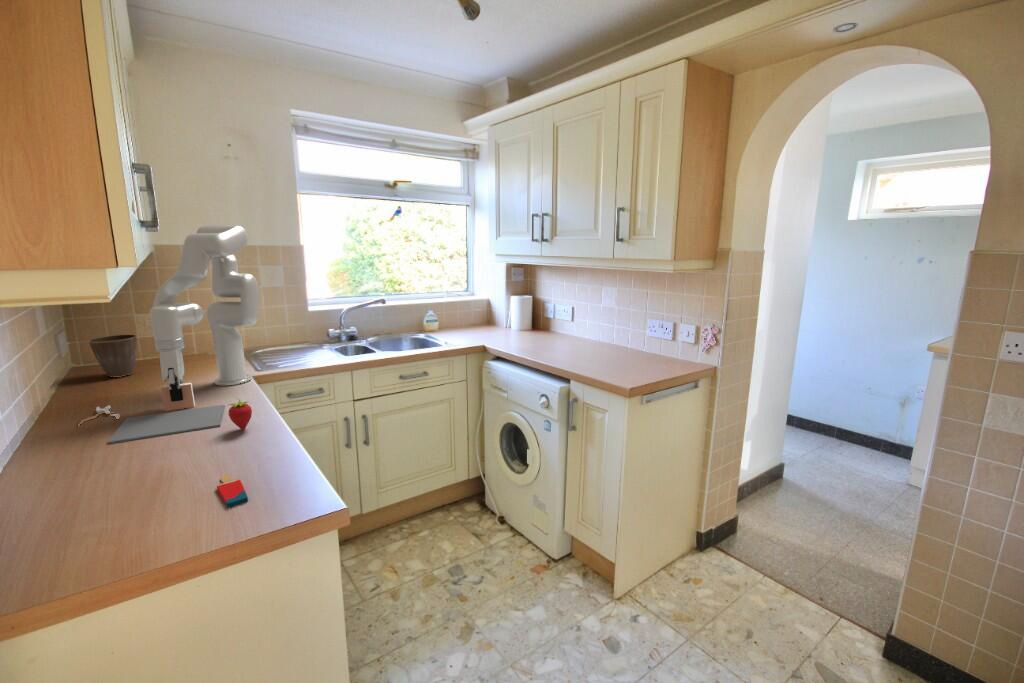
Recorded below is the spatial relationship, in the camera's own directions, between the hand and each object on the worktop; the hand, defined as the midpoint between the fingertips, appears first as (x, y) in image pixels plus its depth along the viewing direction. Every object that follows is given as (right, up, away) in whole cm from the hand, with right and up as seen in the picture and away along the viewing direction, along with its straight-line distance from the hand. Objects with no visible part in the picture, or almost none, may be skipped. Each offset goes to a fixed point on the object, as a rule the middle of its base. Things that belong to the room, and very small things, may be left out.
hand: (178, 397), depth 153 cm
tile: (0, -3, +1) cm, 4 cm away
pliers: (-20, -6, -6) cm, 22 cm away
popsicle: (+48, -15, -51) cm, 72 cm away
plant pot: (-52, +4, +39) cm, 65 cm away
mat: (+7, -6, -12) cm, 15 cm away
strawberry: (+31, -7, -17) cm, 37 cm away
